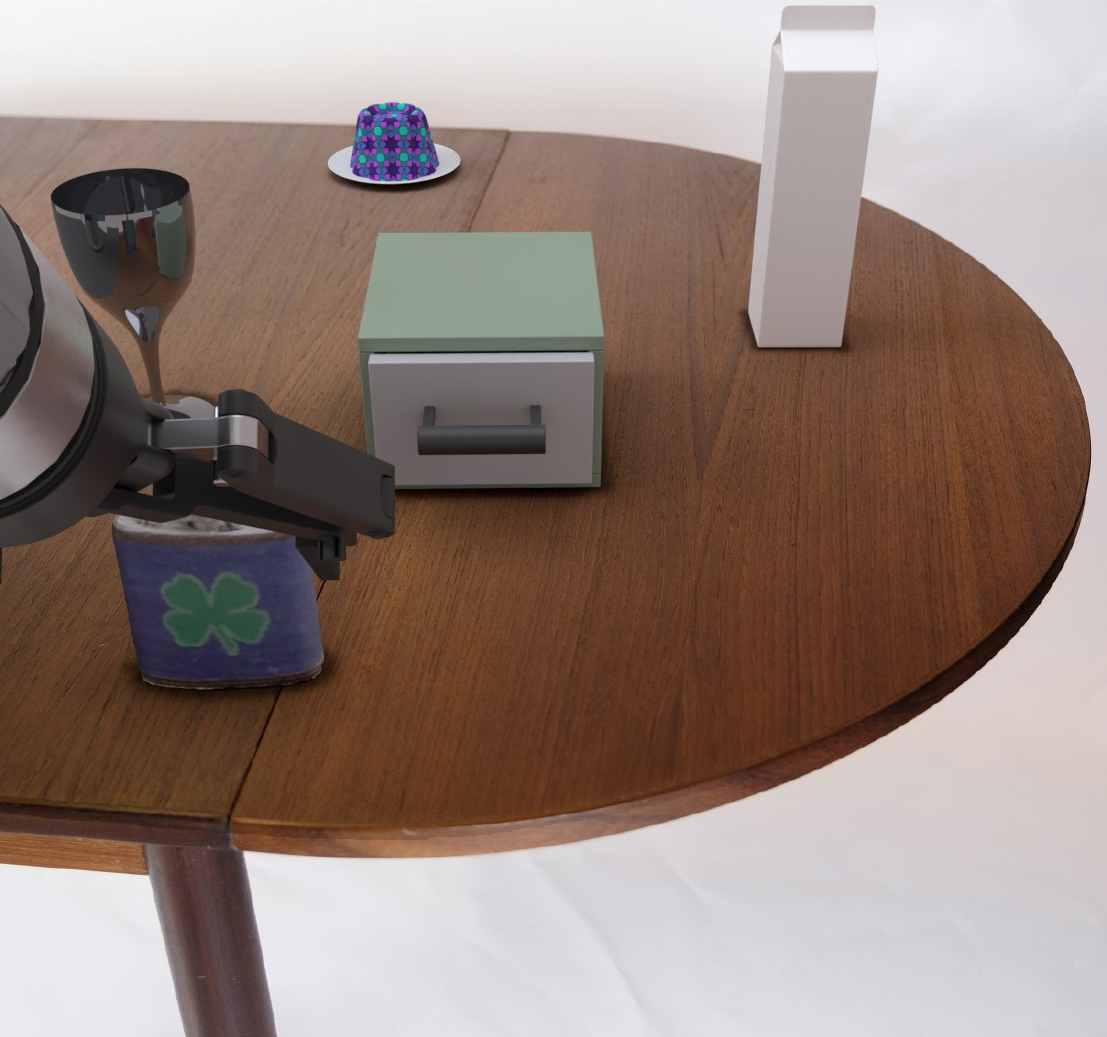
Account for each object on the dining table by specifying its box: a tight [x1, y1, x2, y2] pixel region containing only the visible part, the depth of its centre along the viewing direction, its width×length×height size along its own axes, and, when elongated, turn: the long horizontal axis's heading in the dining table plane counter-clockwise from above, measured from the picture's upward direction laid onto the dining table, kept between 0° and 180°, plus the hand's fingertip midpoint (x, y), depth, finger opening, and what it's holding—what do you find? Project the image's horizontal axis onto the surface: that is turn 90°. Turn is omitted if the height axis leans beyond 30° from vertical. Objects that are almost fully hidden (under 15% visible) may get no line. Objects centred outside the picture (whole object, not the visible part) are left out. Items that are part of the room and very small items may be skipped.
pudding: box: [327, 101, 461, 185], centre depth 130 cm, size 12×12×5 cm
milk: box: [747, 4, 879, 348], centre depth 98 cm, size 6×6×22 cm
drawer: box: [368, 350, 594, 486], centre depth 87 cm, size 19×13×8 cm, turn 1°
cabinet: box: [357, 231, 605, 490], centre depth 90 cm, size 16×14×10 cm
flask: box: [111, 514, 325, 691], centre depth 69 cm, size 9×3×11 cm, turn 91°
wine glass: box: [50, 167, 216, 418], centre depth 89 cm, size 8×8×15 cm
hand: (162, 549), depth 58 cm, fingers open, 13 cm apart
